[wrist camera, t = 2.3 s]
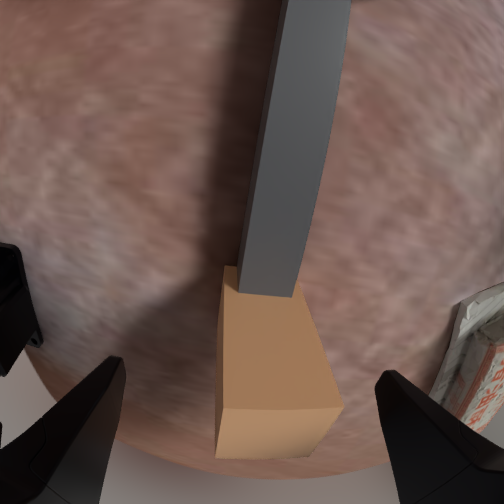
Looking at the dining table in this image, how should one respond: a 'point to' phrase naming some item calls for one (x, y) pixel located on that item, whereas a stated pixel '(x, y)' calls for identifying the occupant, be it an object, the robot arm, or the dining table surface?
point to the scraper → (281, 254)
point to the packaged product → (474, 361)
